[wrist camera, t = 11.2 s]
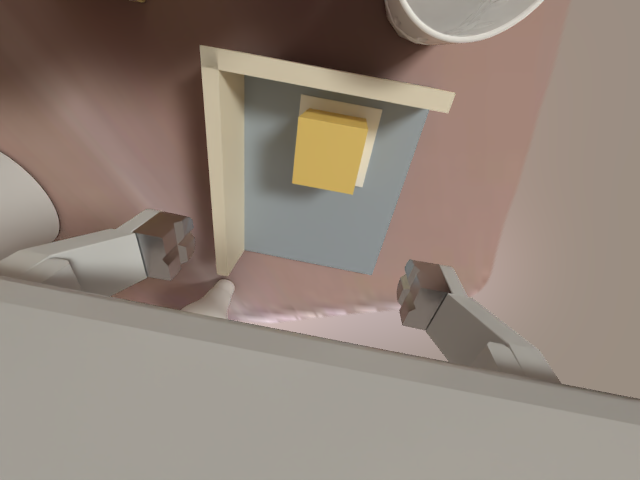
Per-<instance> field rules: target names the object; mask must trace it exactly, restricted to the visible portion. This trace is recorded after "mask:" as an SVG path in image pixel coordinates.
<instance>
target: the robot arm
mask: <svg viewBox="0 0 640 480" xmlns="http://www.w3.org/2000/svg"><path fill="white" fill-rule="evenodd" d="M193 228H194V227H193V221H192V219H191V218H190V217H187V216H182V215H178V214H173V213H168V212H163V211H159V210H153V209H146V210H144V211H143V212H141V213H140V214H138V215H137V216H135V217H134V218H132V219H131V220H129V221H127V222H126V223H124V224H123V225H121V226H120V227H118V228H117V229H107V230H103V231H99V232H94V233H90V234H86V235H82V236H77V237H73V238H69V239H65V240H60V241H56V242H52V241H54V240H55V239H56V237H57V235H58V233H59V219H58V215H57V212H56V210H55V208H54V206H53V204H52V202H51V200H50V199H49V197H48V196H47V194H46V193H45V191H44V190H43V189H42V187H41V186H40V185H39V184H38V183H37V182H36V181H35V179H34V178H33V177H32V176H31V175H30V174H29V173H28V172H26V171H25V170H24V169H23V168H22V167H21V166H19V165H18V164H17V163H16V162H14V161H13V160H12V159H10V158H9V157H7V156H6V155H4V154H3V153H1V152H0V480H640V399H638V398H633V397H627V396H622V395H617V394H611V393H607V392H601V391H596V390H591V389H586V388H581V387H576V386H570V385H565V384H561V382H560V381H559V379H558V378H557V376H556V375H555V373H554V372H553V370H552V369H551V367H550V365H549V364H548V362H547V361H546V359H545V358H544V356H543V355H542V353H541V352H540V350H538V349H537V348H536V347H535V346H533V345H532V344H530V343H529V342H528V341H527V340H526V339H524V338H523V337H522V336H520V335H519V334H518V333H517V332H515V331H514V330H513V329H511V328H510V327H509V326H508V325H506V324H505V323H504V322H503V321H501V320H500V319H499V318H497V317H496V316H495V315H493V314H492V313H491V312H489V311H488V310H487V309H486V308H485V307H483V306H482V305H481V304H479V303H478V302H477V301H476V300H474V299H473V298H470V297H468V296H467V294H466V292H465V290H464V288H463V286H462V284H461V282H460V281H459V279H458V277H457V275H456V273H455V271H454V269H453V268H452V267H451V266H446V265H440V264H433V263H427V262H421V261H415V260H409V261H408V262H407V264H406V266H405V272H406V274H405V275H403V276H402V277H401V278H400V280H399V283H398V287H397V300H398V302H399V303H400V305H401V308H400V316H401V321H402V325H403V326H408V327H412V328H417V329H422V330H426V332H427V334H428V335H429V336H430V338H431V339H432V340H433V342H434V343H435V344H436V345H437V347H438V348H439V349H440V351H441V352H442V353H443V354H444V356H445V357H446V358H447V360H448V361H449V362H446V361H441V360H436V359H430V358H425V357H420V356H414V355H409V354H403V353H399V352H394V351H388V350H383V349H378V348H373V347H368V346H363V345H358V344H353V343H347V342H342V341H337V340H332V339H326V338H322V337H317V336H311V335H306V334H301V333H296V332H290V331H286V330H280V329H275V328H270V327H264V326H259V325H254V324H249V323H244V322H239V321H233V320H228V319H223V318H218V317H213V316H207V315H202V314H197V313H192V312H187V311H181V310H176V309H171V308H166V307H161V306H156V305H150V304H145V303H140V302H135V301H130V300H125V299H119V298H114V297H110V296H112V295H114V294H116V293H118V292H120V291H122V290H124V289H126V288H128V287H130V286H132V285H134V284H136V283H138V282H140V281H142V280H144V279H146V278H147V277H152V278H158V279H164V280H170V281H171V280H172V279H173V278H174V277H175V276H176V274H177V273H178V272H179V271H180V270H181V264H182V263H185V262H187V261H189V259H190V258H191V257H192V255H193V253H194V250H195V237H194V236H193V235H192V234H191V230H192V229H193ZM51 242H52V243H51Z"/></svg>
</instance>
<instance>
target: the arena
mask: <svg viewBox="0 0 640 480" xmlns="http://www.w3.org/2000/svg"><path fill="white" fill-rule="evenodd" d="M200 59H201V72H202V85H203V98H204V111H205V124H206V137H207V151H208V164H209V177H210V190H211V203H212V216H213V229H214V243H215V256H216V269H217V275H222V276H227V277H228V276H229V274H230V272H231V271H232V269H233V268H234V266H235V264H236V263H237V261H238V260H239V258H240V256H241V255H242V253H243V252H244V250H247V251H252V252H257V253H262V254H267V255H272V256H277V257H282V258H287V259H292V260H298V261H303V262H308V263H313V264H318V265H323V266H328V267H333V268H338V269H343V270H348V271H353V272H358V273H363V274H368V275H372V273H373V270H374V267H375V264H376V261H377V258H378V256H379V253H380V250H381V247H382V244H383V241H384V238H385V235H386V232H387V230H388V227H389V224H390V221H391V218H392V215H393V212H394V209H395V207H396V204H397V201H398V198H399V195H400V192H401V189H402V186H403V184H404V181H405V178H406V175H407V172H408V169H409V166H410V163H411V161H412V158H413V155H414V152H415V149H416V146H417V143H418V140H419V138H420V135H421V132H422V129H423V126H424V123H425V120H426V117H427V115H428V112H429V110H433V111H439V112H444V113H448V112H449V110H450V107H451V104H452V102H453V99H454V97H455V94H456V93H453V92H449V91H445V90H441V89H436V88H432V87H427V86H421V85H416V84H411V83H405V82H400V81H395V80H389V79H384V78H379V77H374V76H368V75H363V74H358V73H352V72H347V71H342V70H336V69H331V68H326V67H320V66H315V65H310V64H304V63H299V62H294V61H289V60H283V59H278V58H273V57H267V56H262V55H257V54H251V53H246V52H241V51H235V50H229V49H223V48H216V47H210V46H203V45H200ZM309 108H311V109H316V110H322V111H327V112H333V113H338V114H344V115H349V116H355V117H360V118H365V119H366V120H367V126H368V133H367V137H366V141H365V145H364V150H363V154H362V158H361V162H360V167H359V171H358V175H357V179H356V184H355V188H354V192H353V195H351V194H346V193H341V192H335V191H330V190H325V189H319V188H314V187H309V186H304V185H298V184H293V183H292V178H293V168H294V158H295V147H296V137H297V127H298V117H299V116H300V115H301V114H303V113H304V112H305V111H306V110H307V109H309Z"/></svg>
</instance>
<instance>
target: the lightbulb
mask: <svg viewBox="0 0 640 480" xmlns="http://www.w3.org/2000/svg"><path fill="white" fill-rule="evenodd" d="M234 289H235V287H234V284H233V283H232V282H231V281H229V280H227V279H221V280H219V281H218V282H217V283H216V284H215V286H214V287H213V288H212V289H210V290H209V291H208V292H207V294H206V295H205V296H204V297H203V298H201V299H200V300H198V301H196V302H193V303H191V304H189V305H187V306H185V307H184V308H183V309H181V311H187V312H192V313H197V314H202V315H207V316H213V317H218V318H223V319H228V317H227V310H228V307H229V304H230V302H231V296H232V294H233V292H234Z"/></svg>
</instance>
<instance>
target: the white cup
mask: <svg viewBox="0 0 640 480" xmlns="http://www.w3.org/2000/svg"><path fill="white" fill-rule="evenodd" d="M543 1H544V0H384V2H385V8H386V15H387V19H388V20H389V22H390V23H391V25H392V26H393V28H394V29H395V31H396V32H397V34H398V35H399V36H400V37H402V38H404V39H407V40H409V41H411V42H413V43H415V44H423V45H446V44H458V43H470V42H476V41H480V40H484V39H487V38H490V37H492V36H495V35H497V34H499V33H501V32H503V31H505V30H507V29H509V28H510V27H512V26H514V25H515V24H517V23H518V22H520V21H521V20H522V19H524V18H525V17H526V16H527V15H529V14H530V13H531V12H532V11H533V10H535V9H536V8H537V7H538V6H539V5H540V4H541V3H542V2H543Z"/></svg>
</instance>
